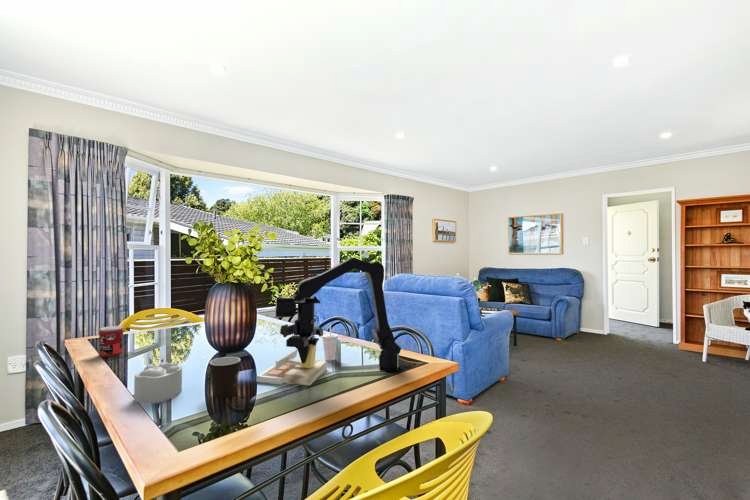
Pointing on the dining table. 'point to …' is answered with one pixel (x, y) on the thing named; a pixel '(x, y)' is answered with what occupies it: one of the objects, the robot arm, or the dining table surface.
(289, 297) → the robot arm
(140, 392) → the lumpy-topped squat cylinder
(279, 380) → the tray
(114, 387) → the dining table surface
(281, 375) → the tile
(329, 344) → the smoothie
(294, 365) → the tile
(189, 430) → the dining table surface
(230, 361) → the coffee mug
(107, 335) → the canned food
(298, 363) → the scraper
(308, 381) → the shallow cream open box
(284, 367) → the tile
